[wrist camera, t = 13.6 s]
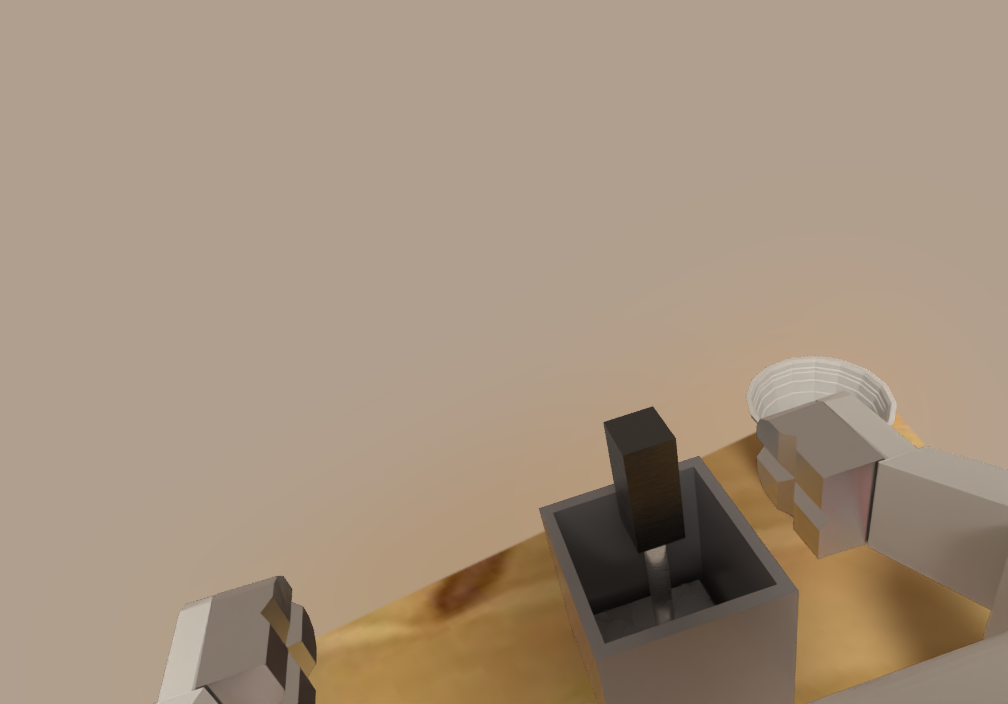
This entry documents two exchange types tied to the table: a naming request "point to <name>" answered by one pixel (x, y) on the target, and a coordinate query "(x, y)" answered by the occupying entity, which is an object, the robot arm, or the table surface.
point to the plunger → (648, 521)
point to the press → (700, 556)
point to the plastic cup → (816, 386)
